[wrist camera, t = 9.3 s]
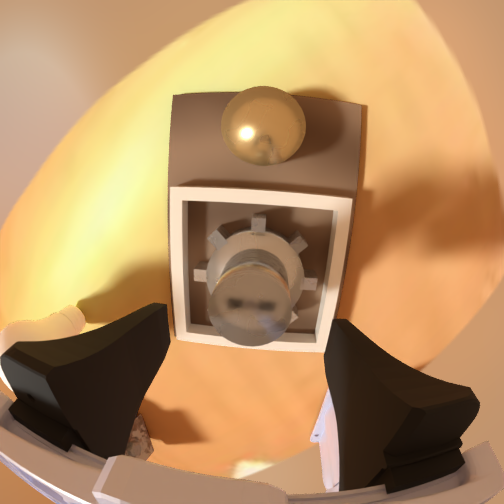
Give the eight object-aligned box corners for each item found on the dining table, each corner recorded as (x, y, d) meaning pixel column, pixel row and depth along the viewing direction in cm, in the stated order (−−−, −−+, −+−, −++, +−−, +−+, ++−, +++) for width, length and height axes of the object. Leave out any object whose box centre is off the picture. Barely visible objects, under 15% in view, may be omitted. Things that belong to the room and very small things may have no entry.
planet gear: (305, 324, 19) (314, 375, 14) (200, 315, 19) (179, 362, 14) (320, 218, 17) (341, 241, 11) (199, 210, 17) (169, 229, 12)
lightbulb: (115, 318, 21) (42, 403, 10) (92, 350, 22) (32, 423, 12) (68, 269, 20) (-20, 329, 9) (51, 307, 21) (-19, 366, 11)
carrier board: (327, 345, 20) (328, 349, 20) (176, 332, 21) (174, 335, 20) (359, 106, 15) (361, 105, 14) (175, 96, 15) (173, 95, 15)
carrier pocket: (322, 342, 19) (325, 352, 18) (181, 330, 20) (176, 339, 19) (347, 196, 16) (352, 198, 15) (176, 185, 17) (169, 186, 16)
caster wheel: (77, 362, 27) (136, 381, 24) (101, 428, 28) (158, 451, 25) (40, 382, 20) (97, 412, 18) (73, 452, 21) (131, 483, 19)
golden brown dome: (298, 169, 16) (303, 168, 14) (226, 164, 16) (218, 163, 14) (302, 100, 15) (307, 89, 12) (230, 96, 15) (223, 85, 12)
